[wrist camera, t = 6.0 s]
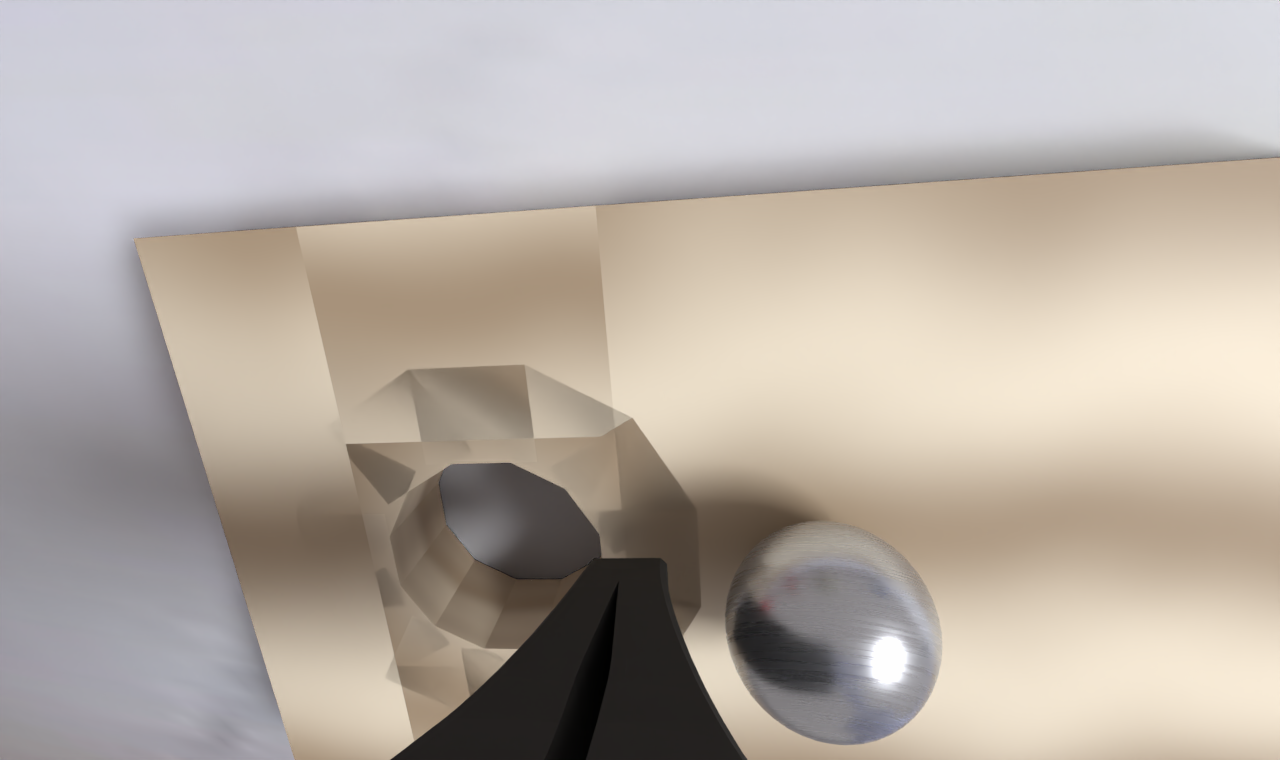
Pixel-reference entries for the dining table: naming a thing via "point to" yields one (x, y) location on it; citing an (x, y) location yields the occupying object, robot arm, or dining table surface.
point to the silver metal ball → (833, 632)
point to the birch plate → (771, 441)
